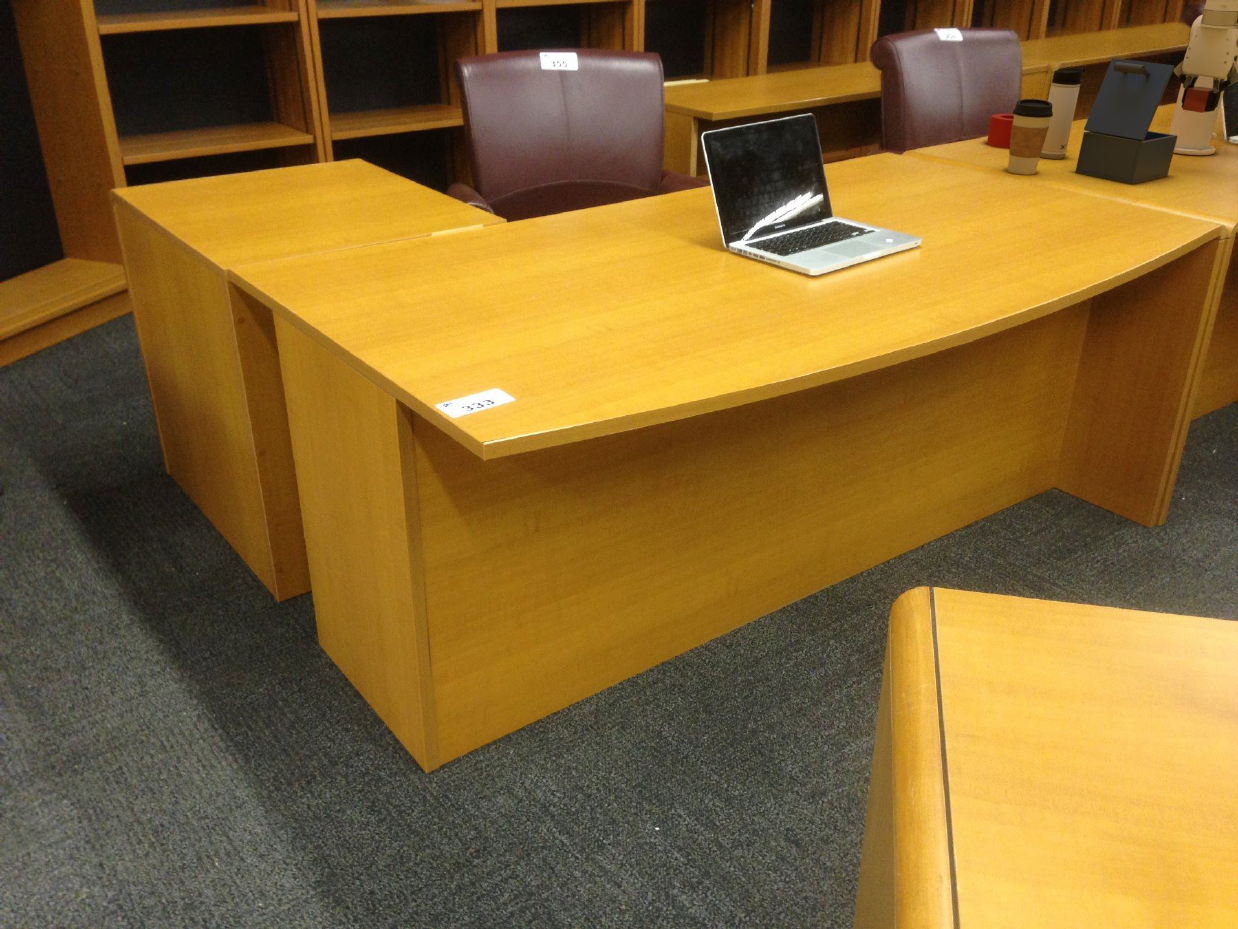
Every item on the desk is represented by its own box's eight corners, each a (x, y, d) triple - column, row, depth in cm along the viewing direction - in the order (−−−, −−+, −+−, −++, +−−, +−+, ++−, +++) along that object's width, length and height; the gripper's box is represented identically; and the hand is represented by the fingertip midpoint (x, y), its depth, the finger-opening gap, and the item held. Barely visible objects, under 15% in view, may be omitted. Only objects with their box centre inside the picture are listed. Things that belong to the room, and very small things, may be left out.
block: (1192, 107, 233) (1198, 86, 231) (1212, 110, 230) (1218, 89, 228) (1182, 109, 231) (1187, 88, 229) (1202, 112, 228) (1208, 91, 225)
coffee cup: (1041, 169, 237) (1055, 100, 230) (1041, 177, 230) (1055, 105, 223) (1002, 166, 240) (1014, 97, 233) (1001, 173, 233) (1014, 103, 226)
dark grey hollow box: (1110, 165, 243) (1119, 125, 239) (1167, 176, 233) (1177, 135, 229) (1075, 172, 235) (1083, 132, 231) (1132, 184, 226) (1142, 142, 221)
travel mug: (1068, 160, 247) (1087, 70, 238) (1039, 158, 248) (1057, 68, 239) (1064, 154, 253) (1082, 66, 243) (1035, 153, 254) (1052, 65, 244)
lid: (1113, 59, 227) (1102, 50, 223) (1174, 66, 218) (1164, 58, 214) (1085, 130, 231) (1073, 123, 227) (1143, 140, 222) (1132, 133, 218)
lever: (982, 145, 261) (987, 117, 258) (991, 139, 268) (996, 112, 265) (1058, 154, 253) (1064, 125, 250) (1065, 147, 260) (1071, 120, 257)
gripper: (1271, 22, 218) (1245, 113, 226) (1191, 14, 229) (1169, 101, 238) (1254, 24, 214) (1228, 117, 222) (1173, 16, 225) (1152, 105, 234)
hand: (1198, 108), depth 230 cm, fingers closed on block, 4 cm apart
